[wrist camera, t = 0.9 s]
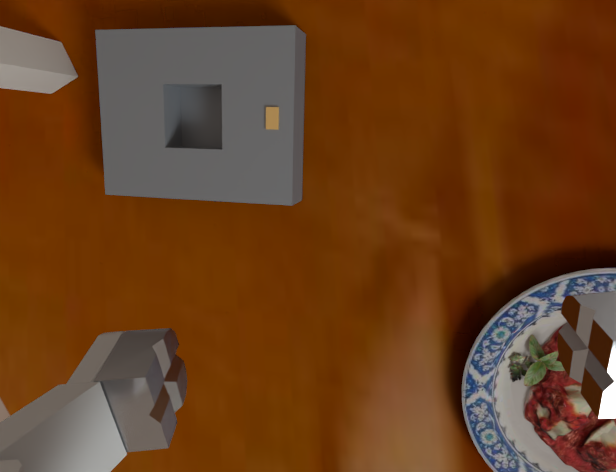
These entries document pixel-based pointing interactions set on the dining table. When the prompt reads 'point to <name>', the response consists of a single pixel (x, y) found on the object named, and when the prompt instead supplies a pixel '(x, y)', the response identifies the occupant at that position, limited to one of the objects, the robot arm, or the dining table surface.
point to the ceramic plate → (535, 386)
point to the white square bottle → (33, 62)
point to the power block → (203, 112)
